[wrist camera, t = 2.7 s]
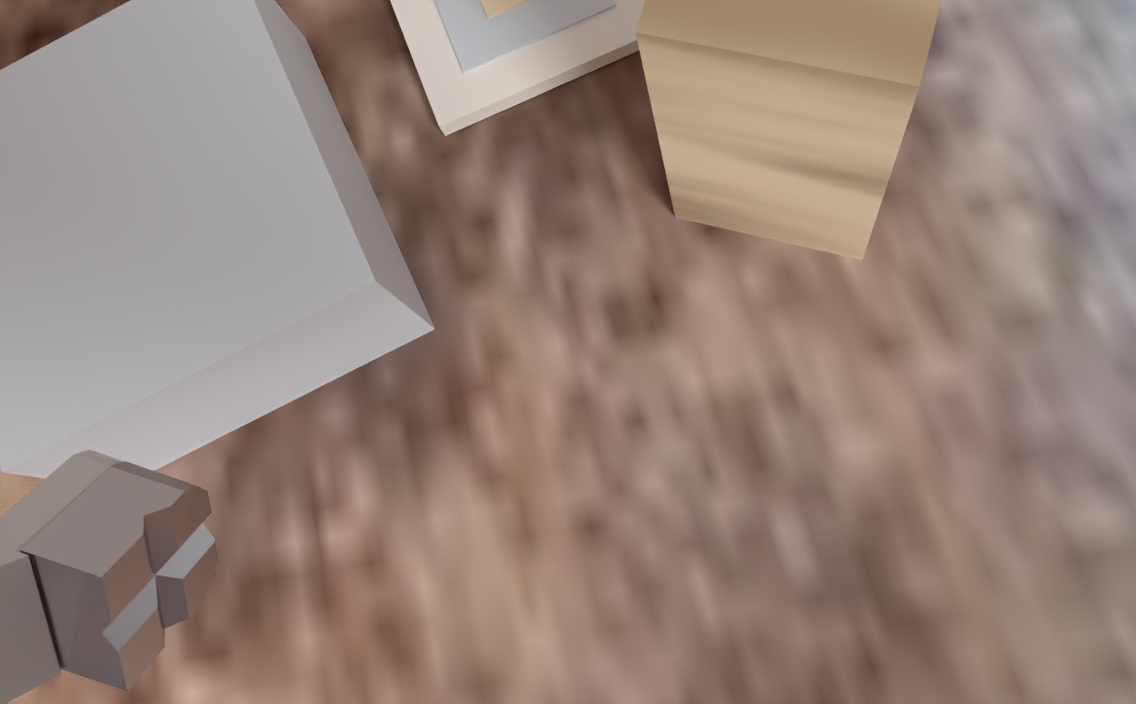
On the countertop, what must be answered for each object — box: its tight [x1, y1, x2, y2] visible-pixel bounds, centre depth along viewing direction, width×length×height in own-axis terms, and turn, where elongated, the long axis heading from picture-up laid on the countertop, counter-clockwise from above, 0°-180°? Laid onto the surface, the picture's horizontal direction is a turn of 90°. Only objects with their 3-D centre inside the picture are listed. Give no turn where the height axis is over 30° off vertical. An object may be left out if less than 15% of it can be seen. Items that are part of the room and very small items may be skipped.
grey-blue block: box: [0, 0, 435, 479], centre depth 29 cm, size 10×10×5 cm
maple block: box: [636, 0, 942, 260], centre depth 24 cm, size 5×5×10 cm
